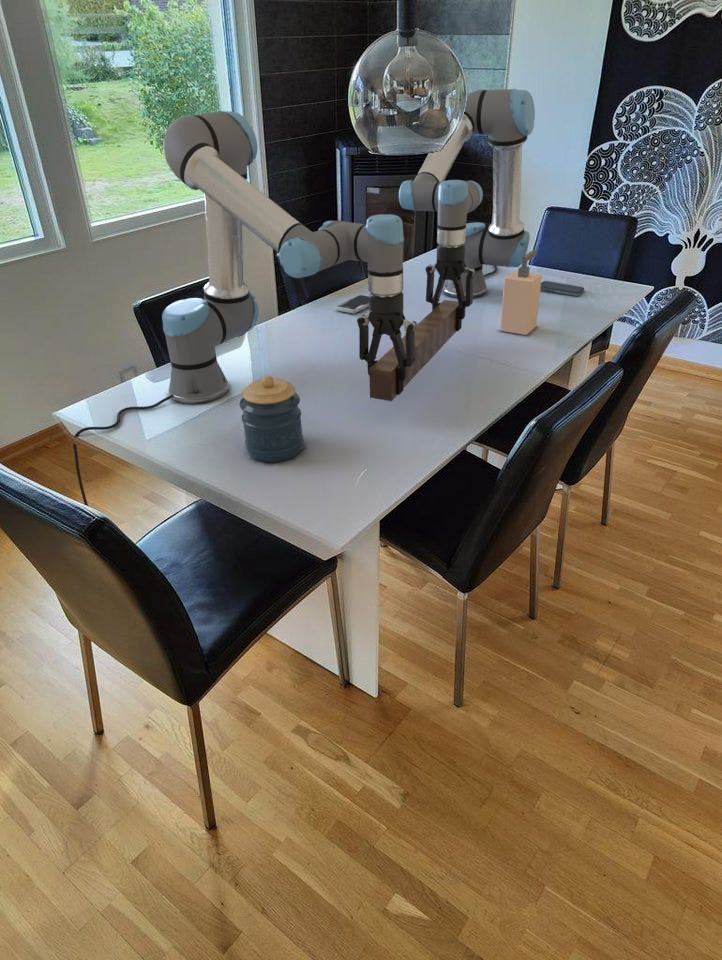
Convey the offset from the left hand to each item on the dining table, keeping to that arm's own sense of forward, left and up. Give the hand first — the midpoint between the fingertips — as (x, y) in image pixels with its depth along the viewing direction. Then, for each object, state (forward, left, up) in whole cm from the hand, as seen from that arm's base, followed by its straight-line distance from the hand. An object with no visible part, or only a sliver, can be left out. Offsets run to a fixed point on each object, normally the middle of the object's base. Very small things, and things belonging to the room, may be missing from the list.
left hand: (387, 390), depth 157 cm
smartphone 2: (+113, +5, -8) cm, 114 cm away
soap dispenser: (+73, +1, -8) cm, 74 cm away
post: (+22, +5, -1) cm, 22 cm away
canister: (-26, +13, -8) cm, 30 cm away
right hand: (+43, +10, 0) cm, 44 cm away
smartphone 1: (+62, +57, -8) cm, 84 cm away
